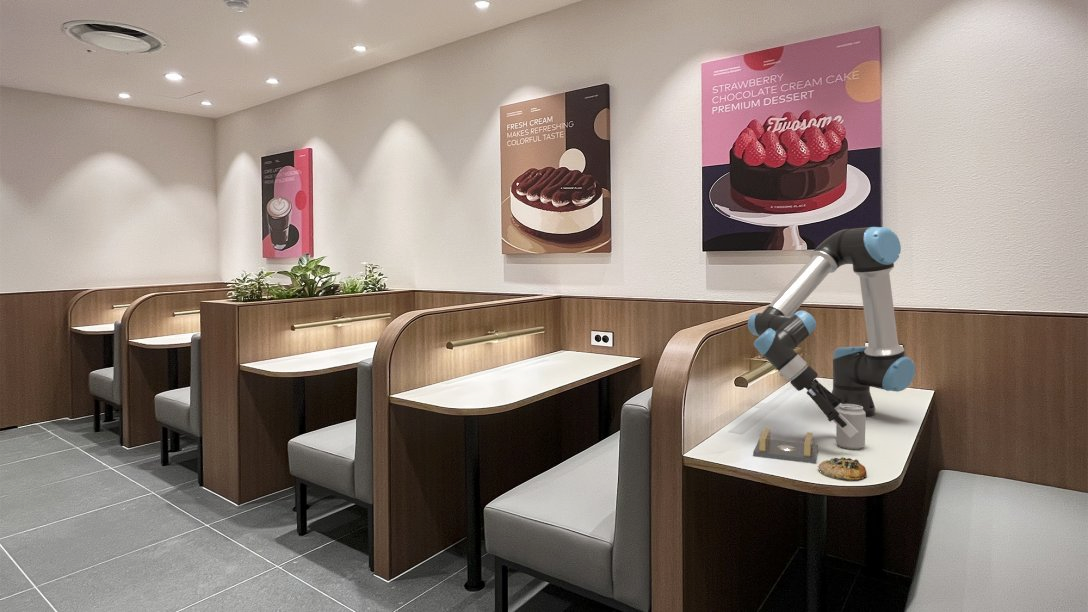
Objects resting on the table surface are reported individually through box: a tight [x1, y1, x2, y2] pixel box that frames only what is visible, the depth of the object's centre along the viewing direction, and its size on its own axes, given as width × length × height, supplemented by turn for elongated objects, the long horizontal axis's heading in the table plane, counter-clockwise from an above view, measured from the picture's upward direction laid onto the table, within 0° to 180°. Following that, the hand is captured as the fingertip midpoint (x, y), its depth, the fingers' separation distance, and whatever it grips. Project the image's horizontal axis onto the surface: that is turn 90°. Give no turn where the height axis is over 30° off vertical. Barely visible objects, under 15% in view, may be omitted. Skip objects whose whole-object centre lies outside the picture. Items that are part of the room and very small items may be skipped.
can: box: [835, 404, 867, 450], centre depth 178 cm, size 8×8×12 cm
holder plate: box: [752, 427, 819, 464], centre depth 174 cm, size 16×14×5 cm
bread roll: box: [817, 456, 868, 481], centre depth 156 cm, size 11×11×5 cm
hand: (854, 428), depth 177 cm, fingers open, 13 cm apart
